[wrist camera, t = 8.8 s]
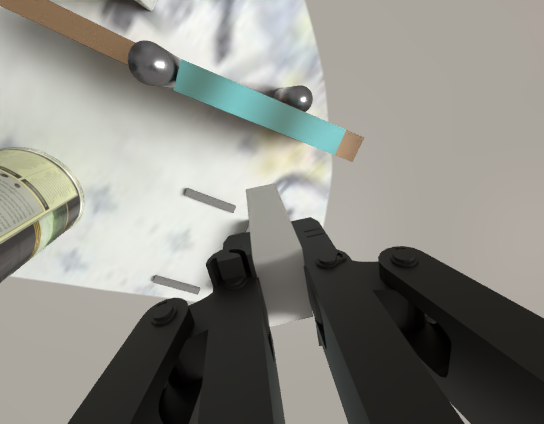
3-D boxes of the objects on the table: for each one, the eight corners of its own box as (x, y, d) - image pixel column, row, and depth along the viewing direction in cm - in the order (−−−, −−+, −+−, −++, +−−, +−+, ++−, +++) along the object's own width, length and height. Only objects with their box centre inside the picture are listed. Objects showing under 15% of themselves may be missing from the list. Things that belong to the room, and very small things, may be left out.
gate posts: (78, 40, 26) (-40, 0, 15) (89, -14, 24) (-34, -103, 13) (277, 133, 31) (299, 154, 20) (294, 93, 30) (328, 92, 19)
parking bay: (154, 280, 36) (147, 295, 34) (187, 188, 32) (182, 196, 29) (225, 299, 39) (224, 315, 36) (265, 216, 35) (267, 227, 32)
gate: (194, 91, 27) (173, 90, 18) (199, 71, 27) (181, 59, 18) (319, 142, 31) (352, 161, 22) (326, 125, 30) (364, 137, 21)
